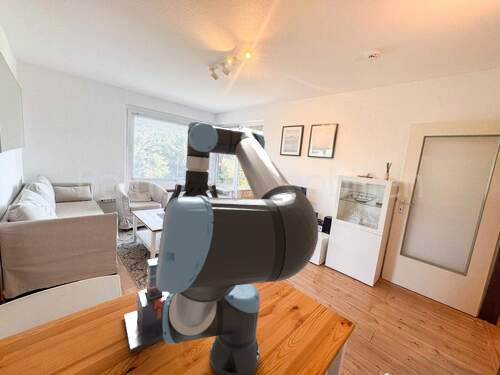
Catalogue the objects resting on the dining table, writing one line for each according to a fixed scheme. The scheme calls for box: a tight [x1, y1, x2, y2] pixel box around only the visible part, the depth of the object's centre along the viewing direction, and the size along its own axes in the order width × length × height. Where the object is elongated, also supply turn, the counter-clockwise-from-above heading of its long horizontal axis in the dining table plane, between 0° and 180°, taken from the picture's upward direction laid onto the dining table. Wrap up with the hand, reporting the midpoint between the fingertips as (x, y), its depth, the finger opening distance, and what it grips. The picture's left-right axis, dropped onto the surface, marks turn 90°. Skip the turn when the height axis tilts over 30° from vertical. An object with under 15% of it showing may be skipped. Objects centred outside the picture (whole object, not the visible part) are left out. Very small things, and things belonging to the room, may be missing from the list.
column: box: [146, 257, 163, 301], centre depth 71 cm, size 5×5×22 cm
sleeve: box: [123, 288, 169, 354], centre depth 72 cm, size 16×16×12 cm
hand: (193, 231), depth 73 cm, fingers open, 13 cm apart
